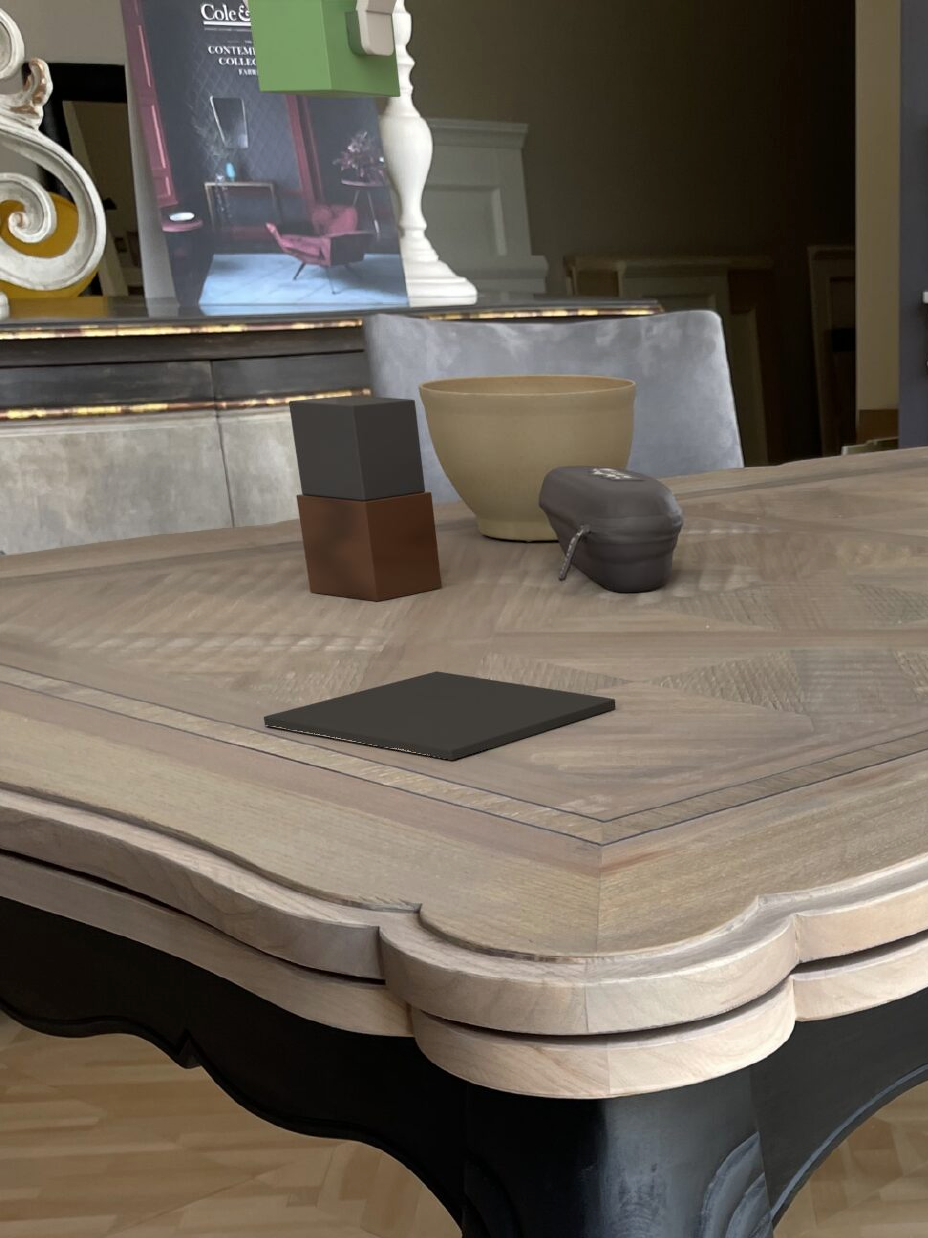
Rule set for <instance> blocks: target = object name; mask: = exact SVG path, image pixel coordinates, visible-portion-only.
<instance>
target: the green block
mask: <svg viewBox="0 0 928 1238" xmlns="http://www.w3.org/2000/svg"><path fill="white" fill-rule="evenodd" d="M356 5H357V0H248V7H249V11H248V14H249V19H250V20H249V21H250V28H251V37H252V42H253V51H254V57H255V65H256V72H257V73H256V74H257V79H258V80H257V81H258V87H259V92H261V93H267V94H268V93H269V94H278V95H279V94H280V95H290V96H301V97H313V98H322V99H323V98H324V99H359V98H361V99H362V98H363V99H364V98H366V99H367V98H368V99H369V98H400V97H401V96H402V95H401V94H402V93H401V86H400V76H399V75H400V74H399V67H398V57H397V47H396V38H395V37H396V36H395V30H394V29H395V28H394V27H395V26H394V19H393V14H390V15H391V25H392V35H393V45H394V50H393V53H392V55H390V56H364V55H356V54H353V53H352V52H351V50H350V48H349V46H348V39H347V37H348V34H349V33H348V31H347V29H346V21H345V13H344V12H355V10H356Z"/></svg>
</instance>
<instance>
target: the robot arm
mask: <svg viewBox="0 0 928 1238" xmlns="http://www.w3.org/2000/svg"><path fill="white" fill-rule="evenodd" d="M242 2H243V3H244V6H245V7H246V9H247V11H248V12H249V7H248V0H242ZM396 4H397V0H357V5H356V10H355V12H344V13H345V21H346V29H347V31H348V33H349V34H348V37H347V39H348V46H349V48H350V50H351V52H352V53H353V54H356V55H364V56H390V55H392V53H393V50H394V45H393V35H392V25H391V15H390V14H392V15H393V14H394V10H395V8H396Z"/></svg>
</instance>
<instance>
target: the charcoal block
mask: <svg viewBox="0 0 928 1238" xmlns="http://www.w3.org/2000/svg"><path fill="white" fill-rule="evenodd" d="M288 408H289V413H290V420H291V421H290V422H291V427H292V434H293V440H294V441H293V442H294V447H295V455H296V462H297V468H298V475H299V481H300V488H301V489H300V490H301V494H303V495H311V496H321V497H331V498H341V499H350V500H360V501H368V500H374V499H381V498H387V497H394V496H401V495H407V494H414V493H421V492H425V491H426V485H425V484H426V483H425V477H424V467H423V459H422V450H421V442H420V432H419V424H418V415H417V409H416V408H417V407H416V400H415V399H411V398H410V399H409V398H395V397H394V398H392V397H383V396H382V397H381V396H368V395H342V396H341V395H340V396H331V397H330V396H329V397H319V398H309V399H307V398H306V399H297V400H289V401H288Z"/></svg>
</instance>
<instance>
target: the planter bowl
mask: <svg viewBox="0 0 928 1238" xmlns="http://www.w3.org/2000/svg"><path fill="white" fill-rule="evenodd" d="M636 385H637V383H636V381H634V380H632V379H628V378H621V377H620V378H619V377H614V376H605V375H604V376H603V375H590V374H589V375H588V374H563V373H561V374H552V373H551V374H550V373H549V374H548V373H541V374H539V373H538V374H536V373H535V374H534V373H531V374H530V373H529V374H528V373H527V374H494V375H477V376H475V375H474V376H462V377H461V376H459V377H448V378H440V379H432V380H428V381H427V380H426V381H423V382H421V383H419V384H418V395H419V397H420V401H421V403H422V405H423V407H424V413H425V419H426V425H427V429H428V433H429V437H430V440H431V443H432V446H433V449H434V452H435V454H436V455H435V456H436V458H437V461H438V463H439V464H440V466H441V468H442V471H443V472H444V474H445V477H447V480H448V481H449V483H450V484H451V486H452V487H453V488H454V490H455V492H456V494H458V496H459V498H461V500H462V501H463V503H464V504H465V505H466V507H467V508H468V509H469V510H470V511H471V512H472V513H473V514H474V516H475V518H476V521H477V526H478V529H479V532H480V533H481V535H484V536H486V537H490V538H495V539H501V540H511V541H525V542H526V543H532V542H533V541H558V538H557V535H556V533H555V531H554V530H553V528H552V527H551V525H550V522H549V520H548V517H547V515H546V513H545V512H544V510H543V509H541V508H540V507H539V505H538V503H539V492H540V491H541V487H542V484H543V480H544V478H545V476H546V475H547V474H548V473H549V472H550V471H551V470H553V469H554V468H557V467H564V466H599V467H610V468H617V469H624V470H627V468H628V464H629V460H630V456H631V451H632V445H633V438H634V428H635V427H634V426H635V424H634V423H635V414H634V412H635V411H634V410H635V409H634V405H635V399H636V394H637V386H636Z"/></svg>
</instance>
